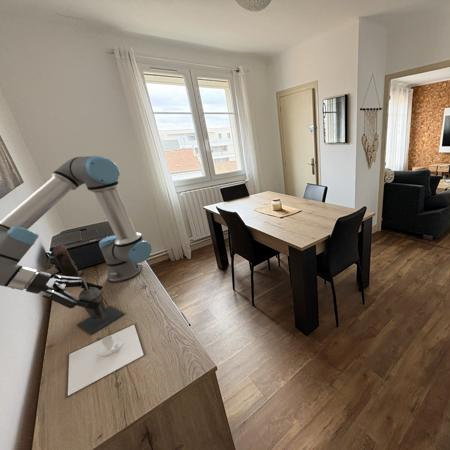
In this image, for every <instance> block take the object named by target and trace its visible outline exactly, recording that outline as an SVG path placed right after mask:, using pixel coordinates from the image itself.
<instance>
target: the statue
mask: <svg viewBox="0 0 450 450" xmlns="http://www.w3.org/2000/svg"><path fill="white" fill-rule="evenodd" d="M52 252H53V256H54V258H55V261H56V262H57V264H58V266H59V268H60V270H61V272H62V274H63V276H69V277H81V275H82V274H83V270H78V267H77V265H76V262H75V261H74V260H73V259H72V257H71V255H70V252H69V251H68V249H67V246H66V245H64V244H63V245H58V246H55V247H54V248H53V250H52Z"/></svg>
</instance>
